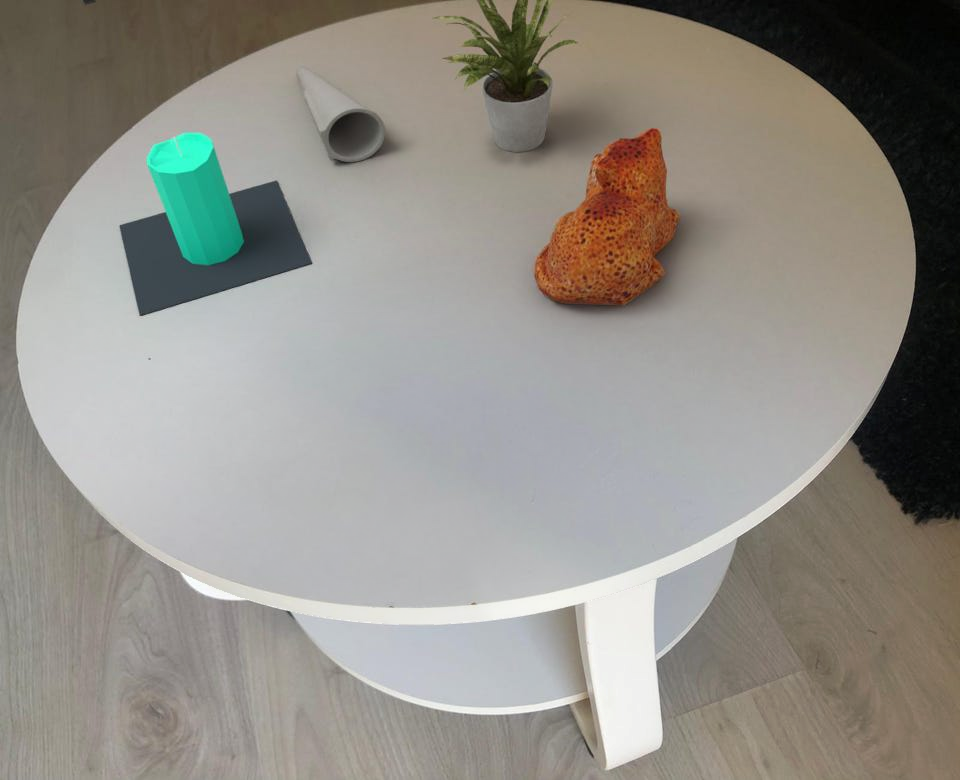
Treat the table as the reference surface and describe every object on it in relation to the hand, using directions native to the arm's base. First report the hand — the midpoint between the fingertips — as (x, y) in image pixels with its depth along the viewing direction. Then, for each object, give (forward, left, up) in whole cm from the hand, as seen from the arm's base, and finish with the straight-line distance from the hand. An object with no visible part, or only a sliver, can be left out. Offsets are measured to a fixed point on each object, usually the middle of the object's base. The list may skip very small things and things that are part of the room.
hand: (18, 16), depth 59 cm
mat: (+6, +16, -32) cm, 36 cm away
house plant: (+39, +20, -32) cm, 54 cm away
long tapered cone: (+23, +32, -32) cm, 51 cm away
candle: (+6, +16, -32) cm, 36 cm away
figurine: (+39, -2, -32) cm, 51 cm away
